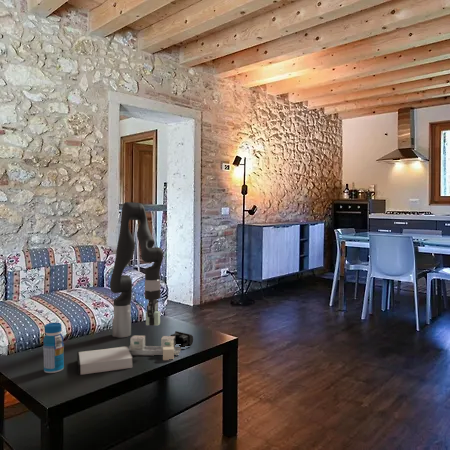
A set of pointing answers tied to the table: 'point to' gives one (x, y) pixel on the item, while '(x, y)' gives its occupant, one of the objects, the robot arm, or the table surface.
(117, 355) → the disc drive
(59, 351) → the beverage bottle
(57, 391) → the table surface
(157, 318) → the module
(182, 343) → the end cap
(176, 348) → the rail
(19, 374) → the table surface
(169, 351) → the block
